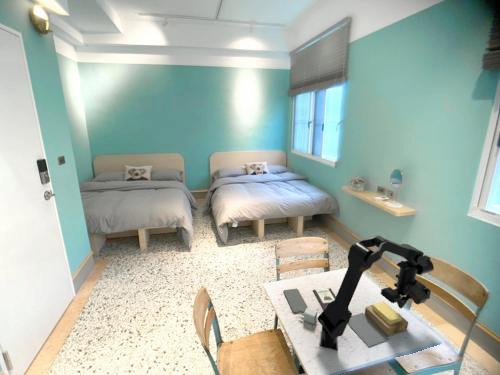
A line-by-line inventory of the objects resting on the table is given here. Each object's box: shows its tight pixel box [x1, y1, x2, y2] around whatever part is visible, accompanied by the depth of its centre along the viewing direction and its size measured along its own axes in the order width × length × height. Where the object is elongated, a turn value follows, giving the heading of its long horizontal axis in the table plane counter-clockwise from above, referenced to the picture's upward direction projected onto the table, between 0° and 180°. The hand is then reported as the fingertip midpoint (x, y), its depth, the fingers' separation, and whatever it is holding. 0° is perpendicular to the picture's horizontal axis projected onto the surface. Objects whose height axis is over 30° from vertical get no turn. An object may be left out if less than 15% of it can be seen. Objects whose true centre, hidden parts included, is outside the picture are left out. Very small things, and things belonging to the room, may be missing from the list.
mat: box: [347, 312, 390, 348], centre depth 101 cm, size 10×14×1 cm
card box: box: [372, 300, 403, 325], centre depth 103 cm, size 6×9×2 cm, turn 19°
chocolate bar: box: [312, 287, 337, 311], centre depth 115 cm, size 9×1×18 cm
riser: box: [364, 304, 409, 338], centre depth 104 cm, size 10×12×4 cm
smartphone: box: [283, 288, 309, 314], centre depth 117 cm, size 8×1×15 cm
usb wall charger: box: [298, 307, 318, 325], centre depth 106 cm, size 4×7×4 cm, turn 59°
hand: (400, 307), depth 105 cm, fingers closed
